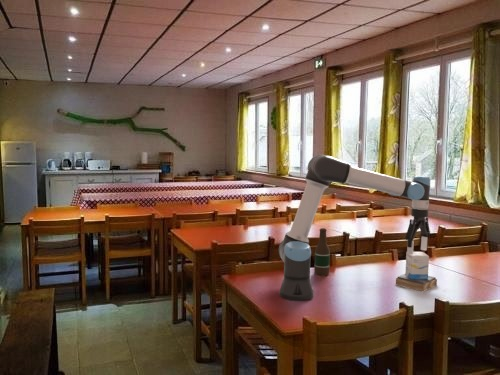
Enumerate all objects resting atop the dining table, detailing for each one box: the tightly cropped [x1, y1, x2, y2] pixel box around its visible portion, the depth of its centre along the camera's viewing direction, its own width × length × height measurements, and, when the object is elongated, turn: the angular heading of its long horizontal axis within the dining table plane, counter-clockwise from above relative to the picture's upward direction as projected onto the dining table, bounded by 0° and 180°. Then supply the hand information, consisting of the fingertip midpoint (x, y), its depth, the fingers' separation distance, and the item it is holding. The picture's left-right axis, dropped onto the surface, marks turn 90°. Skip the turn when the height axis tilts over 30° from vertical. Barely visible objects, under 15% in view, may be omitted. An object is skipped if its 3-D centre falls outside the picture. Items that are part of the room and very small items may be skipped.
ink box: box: [404, 251, 430, 279], centre depth 226 cm, size 9×8×12 cm
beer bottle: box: [313, 228, 331, 277], centre depth 243 cm, size 8×8×24 cm
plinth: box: [395, 273, 438, 292], centre depth 227 cm, size 14×14×4 cm
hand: (416, 252), depth 225 cm, fingers open, 13 cm apart
